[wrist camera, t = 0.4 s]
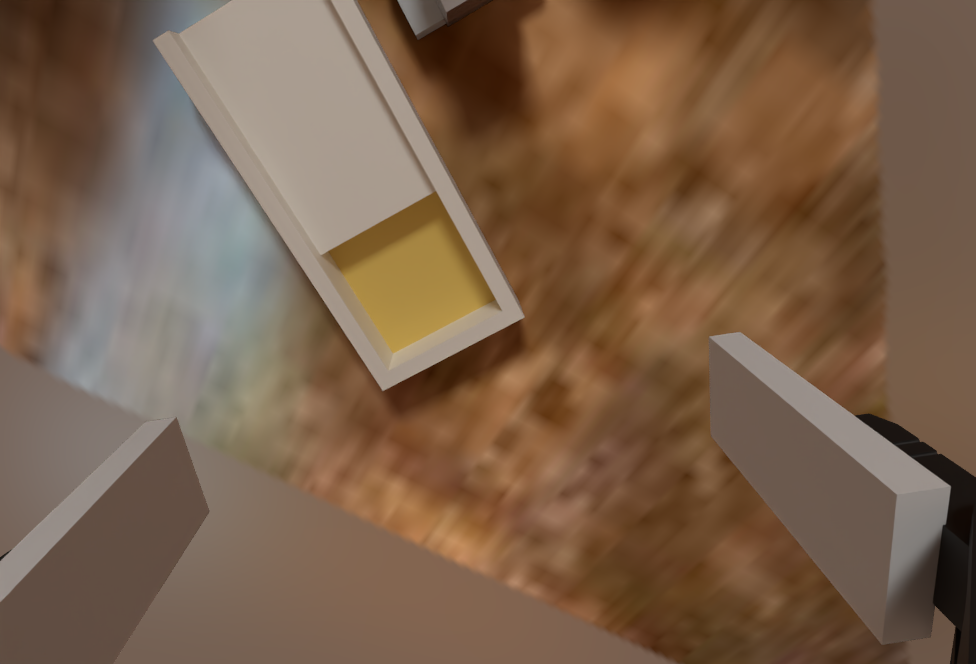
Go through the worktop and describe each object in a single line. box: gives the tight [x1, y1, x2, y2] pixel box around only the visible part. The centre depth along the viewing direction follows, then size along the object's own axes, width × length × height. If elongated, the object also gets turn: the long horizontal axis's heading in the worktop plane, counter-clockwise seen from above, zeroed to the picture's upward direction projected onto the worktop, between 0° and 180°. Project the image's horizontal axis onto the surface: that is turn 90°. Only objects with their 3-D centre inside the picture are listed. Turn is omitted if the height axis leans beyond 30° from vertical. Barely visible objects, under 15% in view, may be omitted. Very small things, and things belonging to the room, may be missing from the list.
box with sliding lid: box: [153, 0, 524, 391], centre depth 35 cm, size 22×10×4 cm, turn 28°
